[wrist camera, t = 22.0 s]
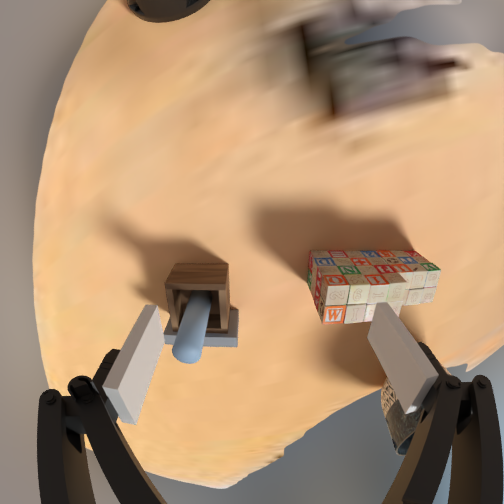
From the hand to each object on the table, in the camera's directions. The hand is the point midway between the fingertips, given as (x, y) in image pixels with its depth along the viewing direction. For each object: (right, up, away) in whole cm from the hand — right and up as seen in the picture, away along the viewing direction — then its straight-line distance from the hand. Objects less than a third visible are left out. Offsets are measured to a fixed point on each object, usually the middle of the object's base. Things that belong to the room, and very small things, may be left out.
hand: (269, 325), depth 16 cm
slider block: (-9, -2, +32) cm, 33 cm away
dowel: (-9, -3, +29) cm, 30 cm away
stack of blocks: (+19, +2, +31) cm, 36 cm away
